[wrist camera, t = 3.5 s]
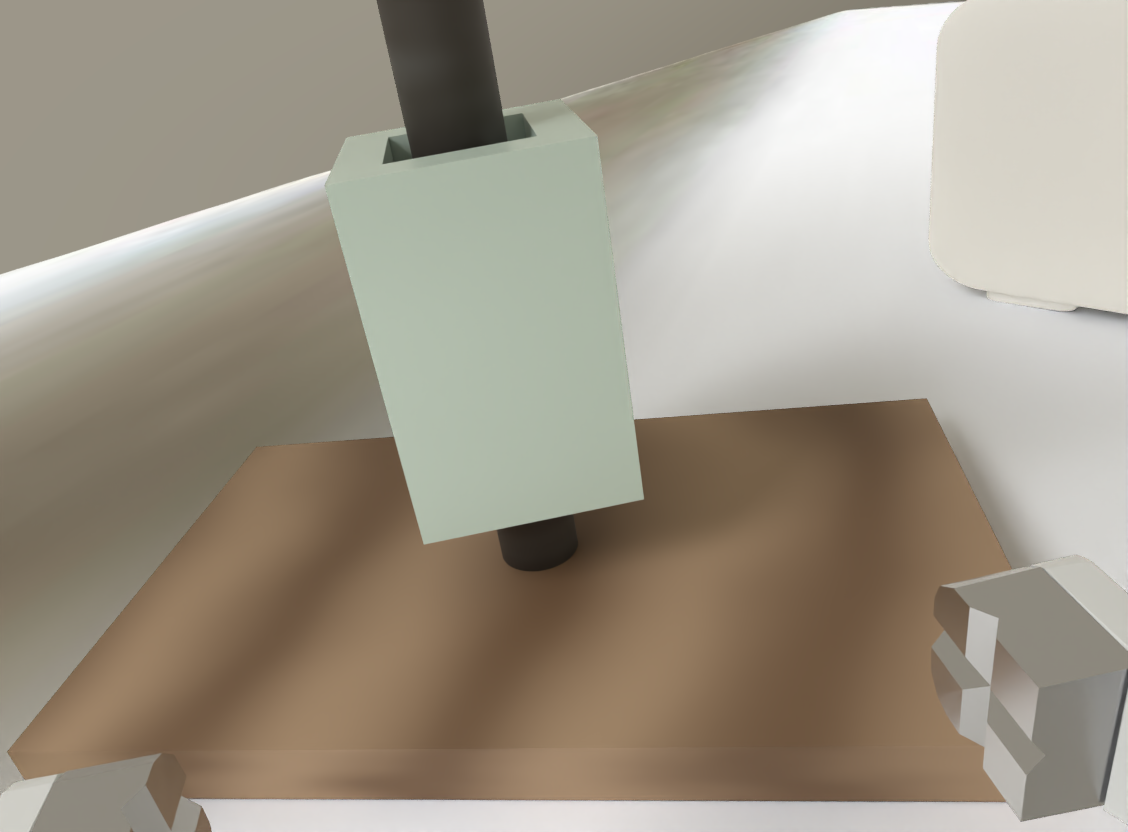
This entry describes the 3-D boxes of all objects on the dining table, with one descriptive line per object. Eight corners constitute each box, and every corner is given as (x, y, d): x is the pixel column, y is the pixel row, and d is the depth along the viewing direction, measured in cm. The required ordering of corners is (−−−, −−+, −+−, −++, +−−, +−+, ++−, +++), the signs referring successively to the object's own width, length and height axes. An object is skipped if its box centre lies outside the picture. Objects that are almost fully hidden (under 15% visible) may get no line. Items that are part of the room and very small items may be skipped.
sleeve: (423, 544, 20) (324, 185, 16) (424, 438, 24) (346, 137, 20) (643, 499, 20) (596, 135, 16) (604, 402, 24) (560, 99, 21)
